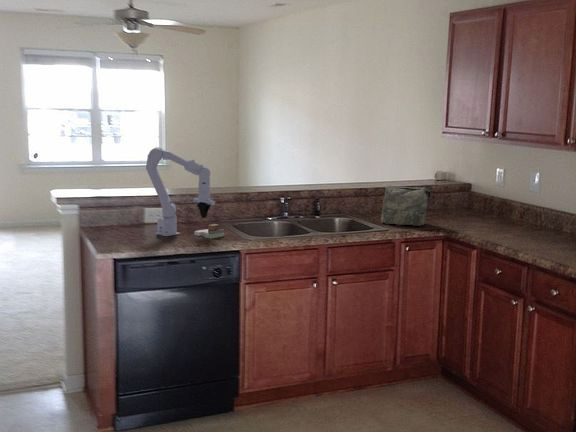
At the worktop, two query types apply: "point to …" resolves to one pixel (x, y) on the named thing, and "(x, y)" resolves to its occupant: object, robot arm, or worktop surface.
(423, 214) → the lunch bag
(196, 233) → the board
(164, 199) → the robot arm
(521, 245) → the worktop surface
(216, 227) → the walnut block
